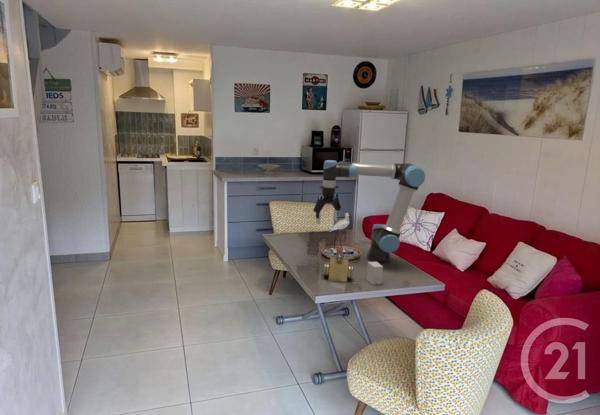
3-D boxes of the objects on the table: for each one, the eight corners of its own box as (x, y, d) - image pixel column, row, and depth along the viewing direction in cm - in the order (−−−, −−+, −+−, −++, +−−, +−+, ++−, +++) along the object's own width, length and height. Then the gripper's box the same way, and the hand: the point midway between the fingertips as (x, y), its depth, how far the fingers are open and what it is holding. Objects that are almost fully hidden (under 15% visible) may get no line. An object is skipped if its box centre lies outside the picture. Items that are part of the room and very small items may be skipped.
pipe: (351, 276, 235) (353, 263, 233) (352, 281, 228) (353, 268, 226) (323, 273, 236) (324, 260, 235) (323, 278, 229) (324, 265, 227)
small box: (381, 284, 228) (383, 266, 225) (372, 285, 226) (374, 266, 224) (374, 278, 235) (376, 261, 233) (365, 279, 233) (367, 261, 231)
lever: (343, 260, 227) (343, 256, 227) (335, 260, 228) (335, 255, 227) (343, 251, 244) (343, 247, 243) (335, 250, 244) (336, 246, 243)
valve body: (350, 276, 236) (351, 257, 234) (350, 282, 227) (352, 263, 225) (325, 274, 237) (327, 255, 235) (324, 280, 228) (326, 260, 226)
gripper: (339, 184, 252) (337, 218, 257) (308, 187, 237) (306, 223, 242) (348, 186, 247) (346, 220, 251) (317, 189, 231) (315, 226, 236)
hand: (326, 222), depth 247 cm, fingers open, 13 cm apart
